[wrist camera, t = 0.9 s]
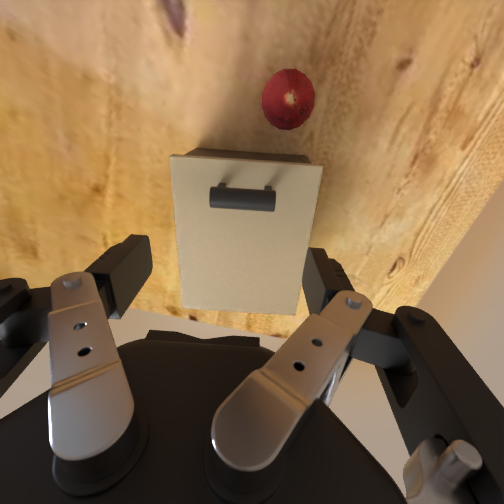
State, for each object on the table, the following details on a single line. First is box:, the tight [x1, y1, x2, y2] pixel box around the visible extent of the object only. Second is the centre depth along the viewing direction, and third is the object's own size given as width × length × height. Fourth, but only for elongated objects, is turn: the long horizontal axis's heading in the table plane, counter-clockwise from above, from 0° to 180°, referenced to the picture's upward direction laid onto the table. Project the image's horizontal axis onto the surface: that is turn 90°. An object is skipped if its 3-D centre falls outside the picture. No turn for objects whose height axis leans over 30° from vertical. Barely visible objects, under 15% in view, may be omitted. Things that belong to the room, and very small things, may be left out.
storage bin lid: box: [169, 154, 323, 316], centre depth 27 cm, size 19×15×6 cm
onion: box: [262, 69, 315, 130], centre depth 28 cm, size 6×6×8 cm
